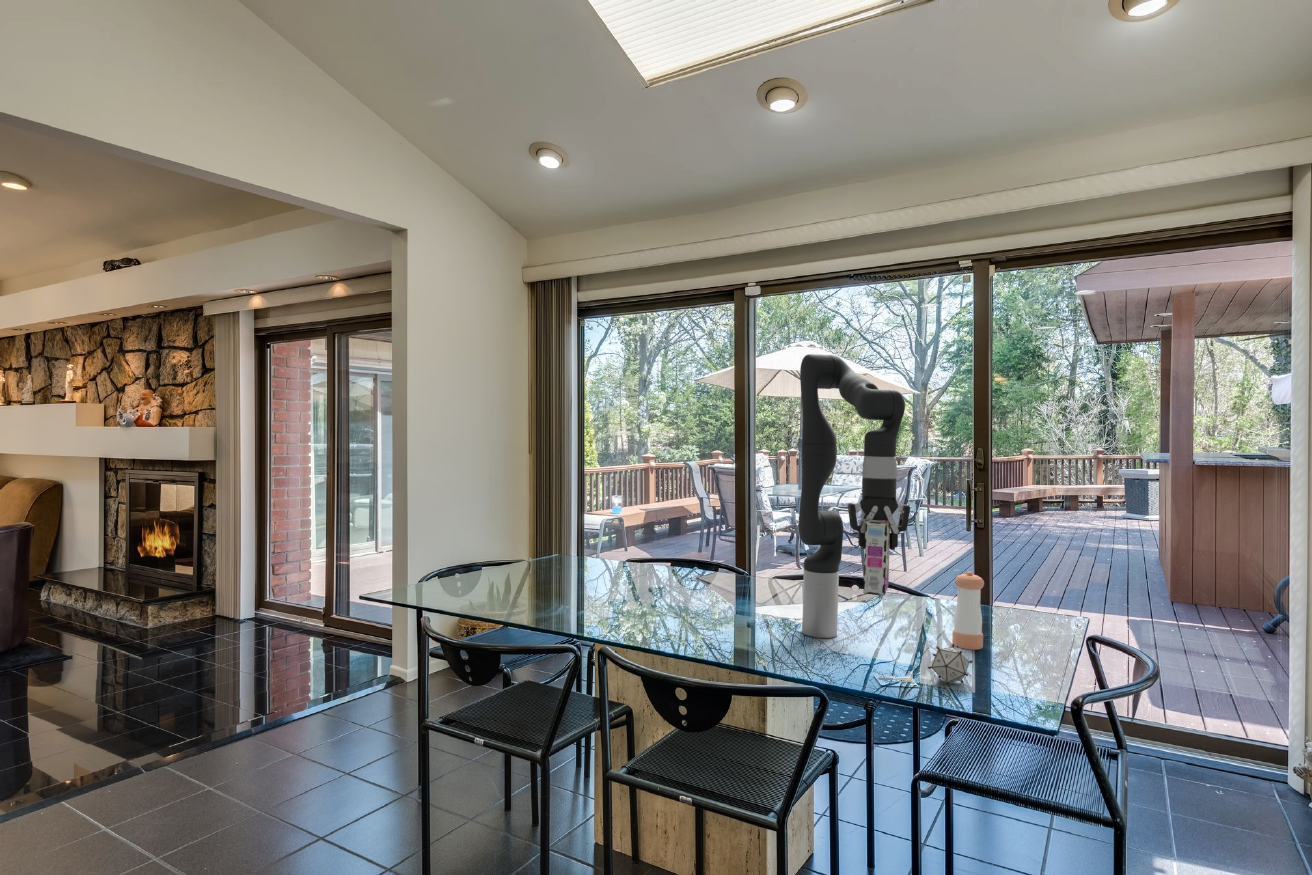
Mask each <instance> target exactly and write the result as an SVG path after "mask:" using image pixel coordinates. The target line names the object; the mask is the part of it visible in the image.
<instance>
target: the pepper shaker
mask: <svg viewBox="0 0 1312 875" xmlns="http://www.w3.org/2000/svg"><path fill="white" fill-rule="evenodd" d="M954 584H955V586H956V587H957V598H956V606H955V611H954V615H953V619H954V621H953V623H954V628H953V629H952V643H951V645H953V644H954V645H955V646H954V647H957V646H958V647H957V648H960V649H965V650H973V651H974V650H981V649H983V648H984V634H983V629H982V628H983V617H982V609H981V608H982V607H981V593H982V592H981V590H982V589H983V588H984V586H985V581H984V579H983V578H982V577H980V576H979V575H977V574H974V572H972V571H967V572H966V573H962V574H959V575H957V576H956V577H955V579H954Z"/></svg>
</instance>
